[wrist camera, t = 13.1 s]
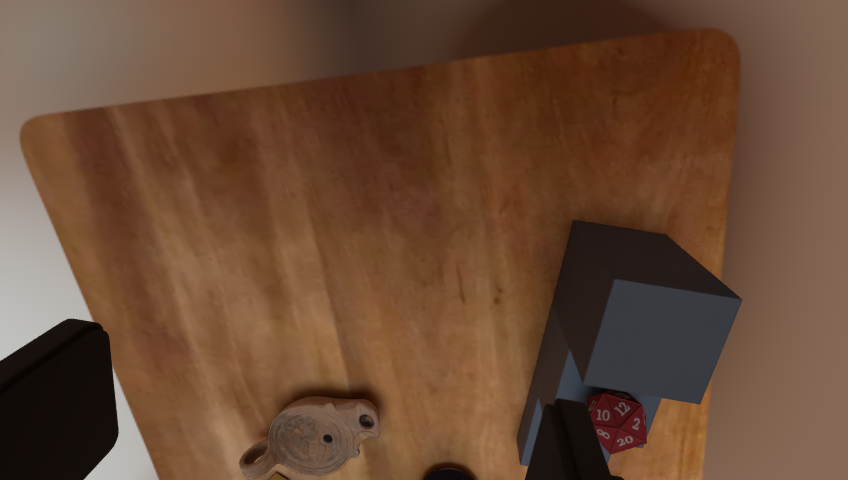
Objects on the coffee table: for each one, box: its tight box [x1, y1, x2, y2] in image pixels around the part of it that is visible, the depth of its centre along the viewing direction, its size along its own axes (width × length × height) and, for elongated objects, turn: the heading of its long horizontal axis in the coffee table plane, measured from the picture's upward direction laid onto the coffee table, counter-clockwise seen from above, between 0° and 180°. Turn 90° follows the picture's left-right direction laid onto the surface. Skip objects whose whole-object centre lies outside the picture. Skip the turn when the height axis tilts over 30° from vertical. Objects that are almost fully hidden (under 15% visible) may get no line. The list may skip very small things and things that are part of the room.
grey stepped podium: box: [517, 220, 742, 466], centre depth 36 cm, size 21×7×11 cm, turn 172°
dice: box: [587, 390, 647, 455], centre depth 32 cm, size 4×4×4 cm
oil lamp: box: [239, 396, 380, 479], centre depth 43 cm, size 13×8×5 cm, turn 110°
